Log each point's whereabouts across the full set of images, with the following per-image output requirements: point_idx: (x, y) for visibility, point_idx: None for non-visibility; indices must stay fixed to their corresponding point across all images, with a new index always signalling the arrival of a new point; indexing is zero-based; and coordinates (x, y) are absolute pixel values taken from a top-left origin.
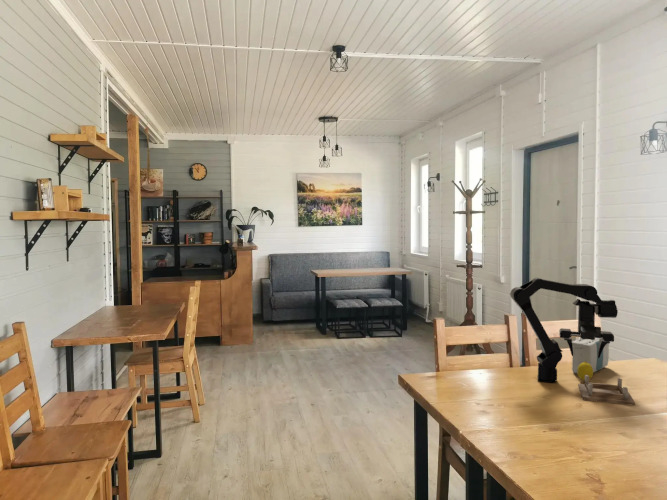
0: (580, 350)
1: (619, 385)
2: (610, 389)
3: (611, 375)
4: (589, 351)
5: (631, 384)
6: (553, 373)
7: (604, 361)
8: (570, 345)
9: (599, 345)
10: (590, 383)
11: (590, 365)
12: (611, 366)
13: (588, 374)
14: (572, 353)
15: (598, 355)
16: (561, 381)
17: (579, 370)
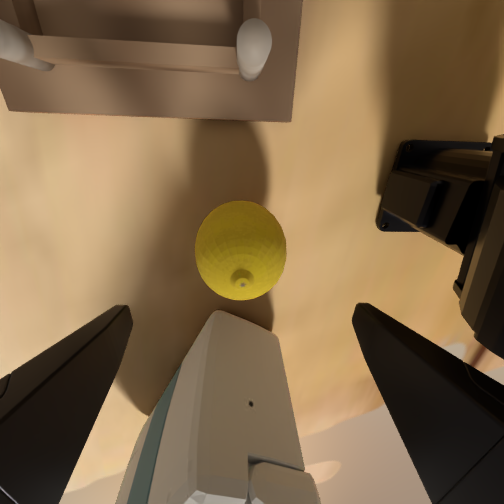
0: (258, 438)
1: (9, 23)
2: (97, 35)
3: (127, 347)
4: (199, 431)
5: (28, 253)
6: (440, 172)
7: (145, 430)
8: (495, 392)
9: (24, 482)
10: (226, 47)
11: (207, 260)
12: (134, 430)
13: (226, 204)
14: (376, 315)
15: (111, 318)
16: (354, 193)
17: (279, 227)
